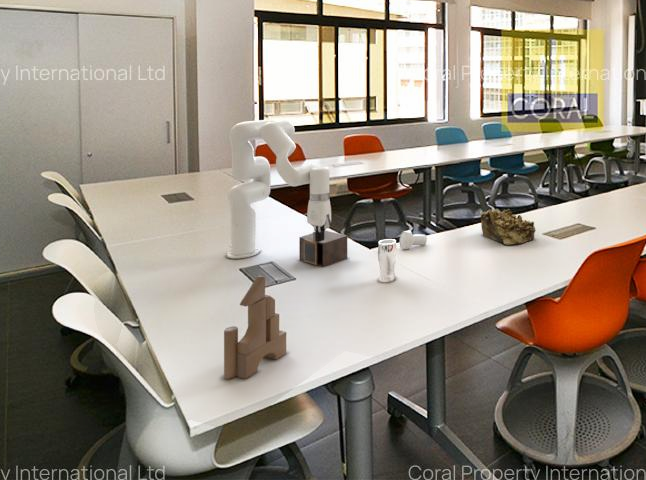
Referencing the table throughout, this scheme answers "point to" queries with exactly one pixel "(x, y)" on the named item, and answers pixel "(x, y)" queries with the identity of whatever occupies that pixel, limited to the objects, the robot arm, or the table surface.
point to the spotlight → (411, 239)
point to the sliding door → (310, 250)
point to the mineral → (506, 227)
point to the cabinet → (327, 248)
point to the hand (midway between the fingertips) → (319, 240)
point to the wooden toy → (254, 335)
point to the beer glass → (387, 259)
